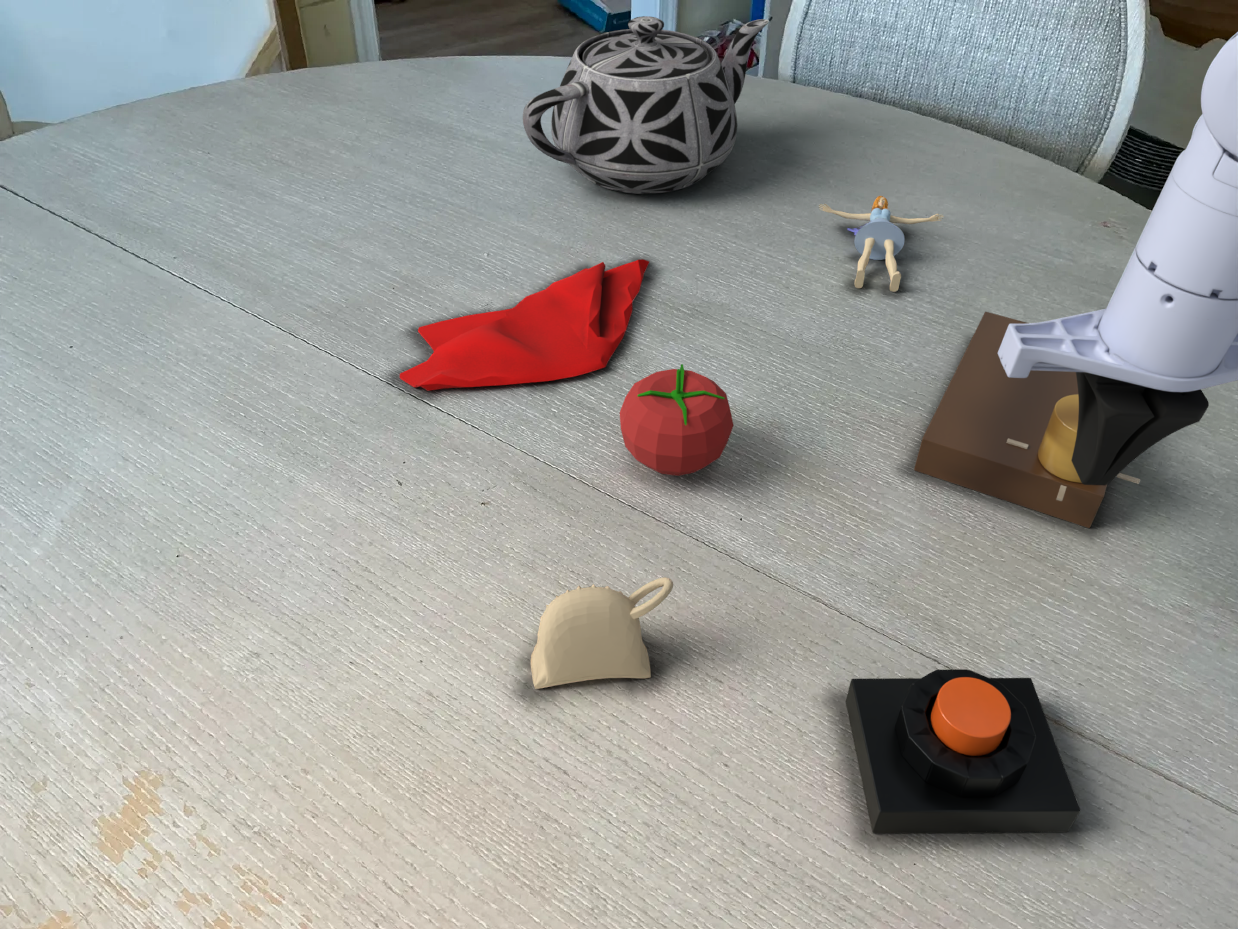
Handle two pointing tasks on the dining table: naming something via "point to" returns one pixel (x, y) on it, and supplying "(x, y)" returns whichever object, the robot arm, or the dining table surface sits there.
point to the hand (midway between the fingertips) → (1088, 472)
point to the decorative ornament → (594, 635)
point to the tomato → (676, 421)
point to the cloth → (534, 334)
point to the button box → (956, 762)
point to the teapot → (644, 107)
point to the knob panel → (1003, 432)
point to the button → (970, 716)
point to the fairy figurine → (879, 238)
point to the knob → (1061, 439)
